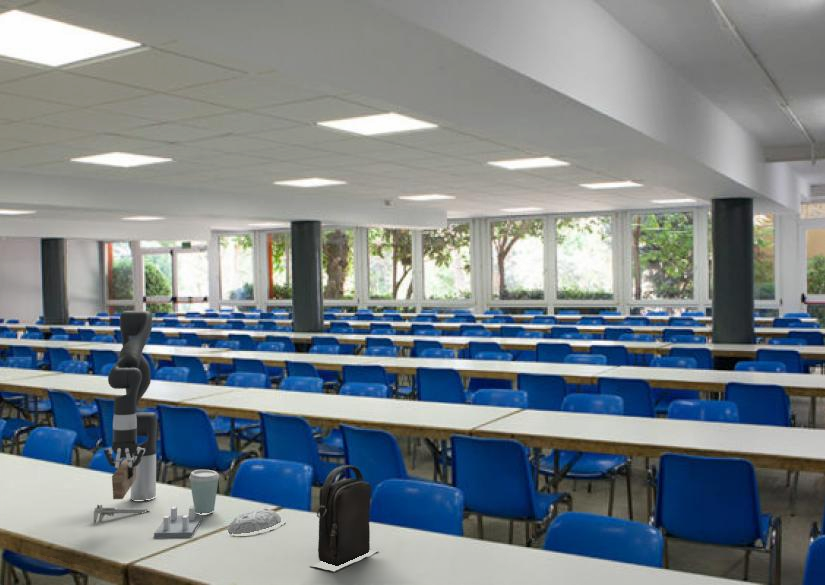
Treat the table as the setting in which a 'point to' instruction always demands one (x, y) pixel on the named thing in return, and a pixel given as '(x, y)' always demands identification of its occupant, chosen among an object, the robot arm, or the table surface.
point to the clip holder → (178, 524)
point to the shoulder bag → (344, 518)
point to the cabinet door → (122, 480)
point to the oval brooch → (254, 521)
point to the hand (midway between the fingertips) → (124, 478)
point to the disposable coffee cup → (204, 490)
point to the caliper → (113, 512)
